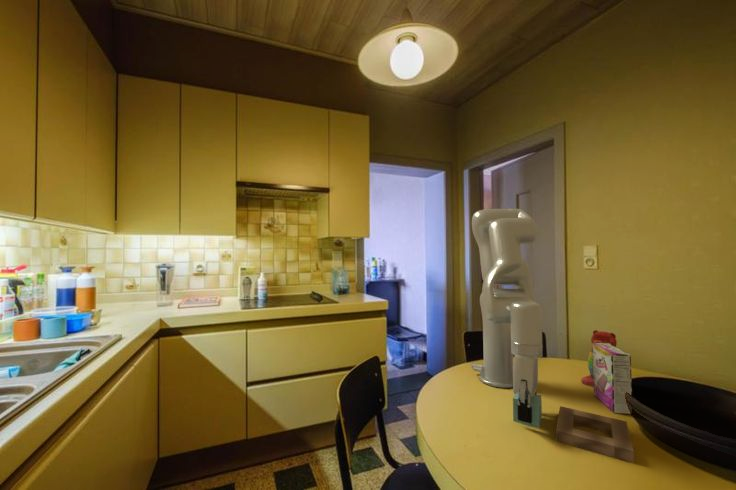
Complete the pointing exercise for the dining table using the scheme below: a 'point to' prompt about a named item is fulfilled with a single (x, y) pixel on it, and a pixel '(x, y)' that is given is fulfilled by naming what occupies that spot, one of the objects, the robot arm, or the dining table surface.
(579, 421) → the walnut puzzle board
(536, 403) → the teal cube
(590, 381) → the stacking bear
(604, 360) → the candy bar box
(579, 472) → the dining table surface
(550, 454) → the dining table surface
